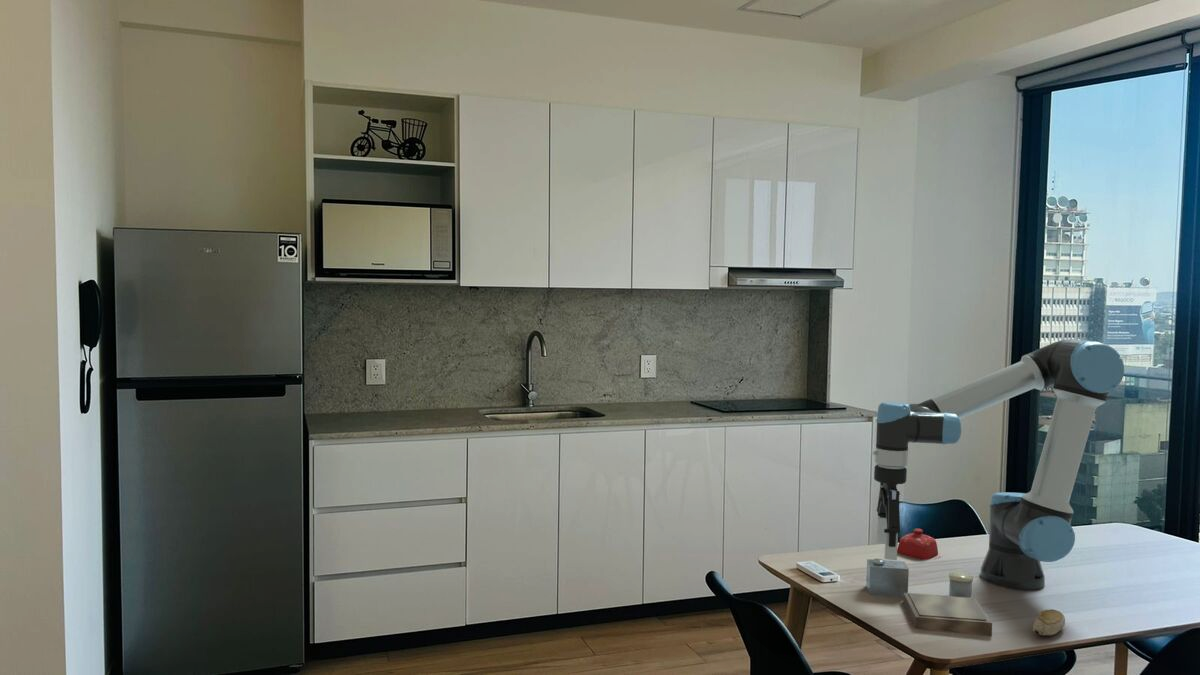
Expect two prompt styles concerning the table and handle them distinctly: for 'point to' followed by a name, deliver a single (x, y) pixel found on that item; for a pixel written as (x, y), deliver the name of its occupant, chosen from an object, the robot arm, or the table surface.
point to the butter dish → (918, 545)
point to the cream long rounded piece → (1048, 622)
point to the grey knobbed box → (887, 578)
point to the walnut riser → (947, 614)
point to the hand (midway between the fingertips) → (886, 551)
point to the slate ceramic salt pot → (960, 584)
